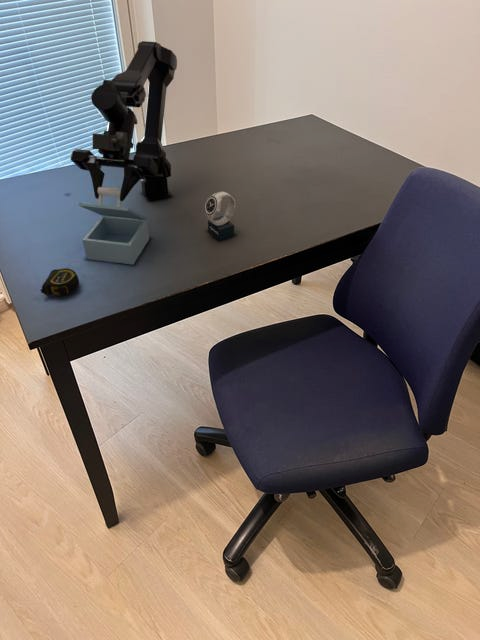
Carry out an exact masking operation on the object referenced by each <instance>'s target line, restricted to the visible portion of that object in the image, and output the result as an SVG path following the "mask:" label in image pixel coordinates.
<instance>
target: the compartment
mask: <svg viewBox="0 0 480 640" xmlns="http://www.w3.org/2000/svg"><path fill="white" fill-rule="evenodd" d="M149 240H150V235H149V226H148V220H138V219H129V218H120V217H111V216H102V215H101V216H100V218H99V219H98V220H97V221H96V222H95V224H94V225H93V226H92V227H91V229H90V230H89V231H88V232H87V233H86V235H85V236H84V237H83V238H82V245H83V250H84V253H85V256H86V259H87V260H91V261H99V262H107V263H108V262H109V263H116V264H125V265H131V266H132V265H134V264H135V263H136V261H137V260H138V258H139V256H140V255H141V253H142V252H143V249H144V248H145V247H146V246H147V243H148V242H149Z"/></svg>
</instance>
